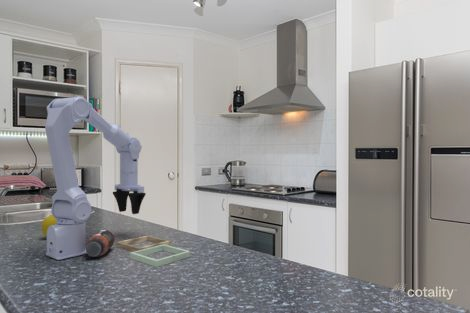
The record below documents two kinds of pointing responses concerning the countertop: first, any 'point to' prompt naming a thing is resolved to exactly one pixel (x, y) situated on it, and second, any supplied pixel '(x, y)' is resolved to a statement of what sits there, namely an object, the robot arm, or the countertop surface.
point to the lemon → (48, 223)
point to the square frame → (178, 256)
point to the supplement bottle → (99, 243)
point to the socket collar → (127, 246)
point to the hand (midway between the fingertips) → (128, 212)
